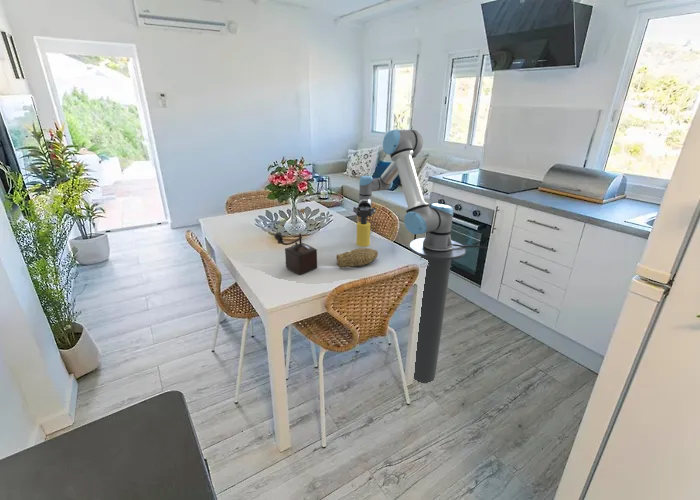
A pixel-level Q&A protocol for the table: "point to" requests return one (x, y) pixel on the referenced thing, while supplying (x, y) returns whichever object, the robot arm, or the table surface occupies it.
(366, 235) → the spray bottle
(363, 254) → the sponge
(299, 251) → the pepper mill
